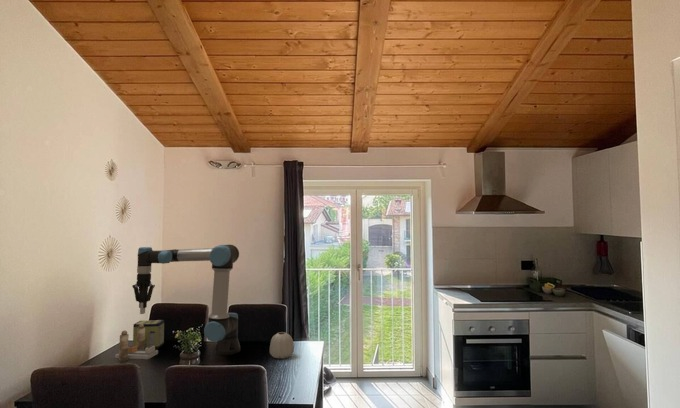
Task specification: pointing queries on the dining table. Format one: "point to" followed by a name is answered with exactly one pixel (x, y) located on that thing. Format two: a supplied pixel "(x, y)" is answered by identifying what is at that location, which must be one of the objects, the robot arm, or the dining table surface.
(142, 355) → the white rectangular tray
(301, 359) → the dining table surface
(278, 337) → the vase
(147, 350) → the breaker
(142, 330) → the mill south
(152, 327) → the protein box
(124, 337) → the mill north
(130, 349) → the breaker
